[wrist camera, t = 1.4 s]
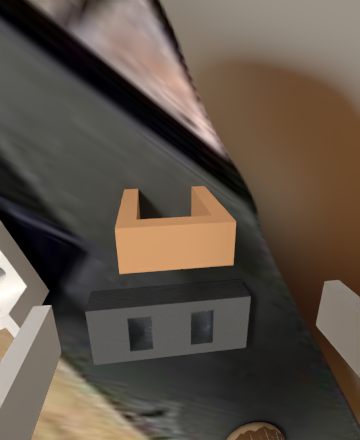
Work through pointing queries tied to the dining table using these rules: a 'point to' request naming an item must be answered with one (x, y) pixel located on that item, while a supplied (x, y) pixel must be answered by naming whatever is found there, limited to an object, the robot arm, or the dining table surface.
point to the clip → (174, 236)
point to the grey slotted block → (167, 320)
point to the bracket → (17, 285)
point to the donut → (256, 432)
